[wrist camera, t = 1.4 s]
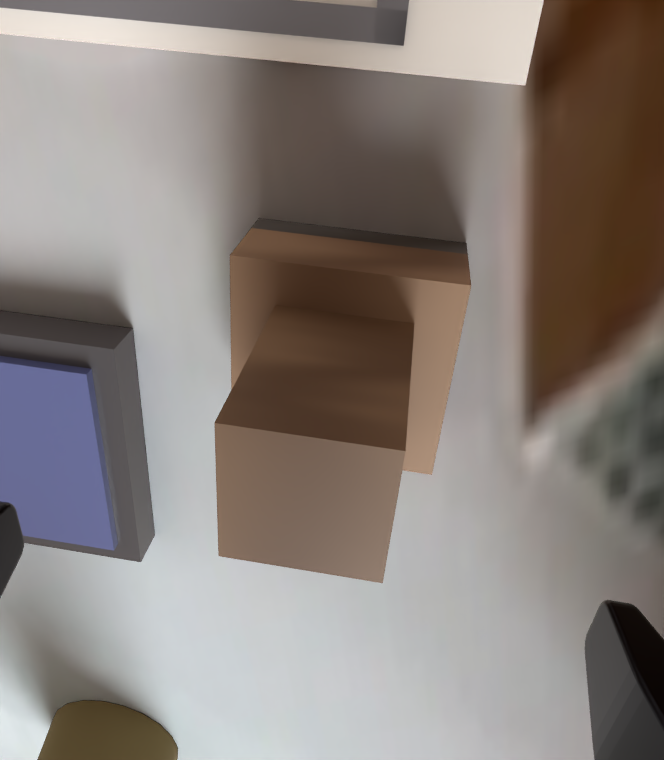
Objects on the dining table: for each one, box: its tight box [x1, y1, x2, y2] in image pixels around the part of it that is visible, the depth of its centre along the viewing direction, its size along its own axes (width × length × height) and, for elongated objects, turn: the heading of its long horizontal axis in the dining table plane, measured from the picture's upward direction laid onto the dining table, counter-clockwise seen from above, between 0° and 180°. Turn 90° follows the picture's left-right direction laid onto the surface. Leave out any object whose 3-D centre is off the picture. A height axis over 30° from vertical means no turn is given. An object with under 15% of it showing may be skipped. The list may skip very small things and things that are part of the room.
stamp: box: [215, 218, 471, 583], centre depth 13 cm, size 5×5×7 cm
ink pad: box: [0, 311, 155, 562], centre depth 19 cm, size 8×8×2 cm
